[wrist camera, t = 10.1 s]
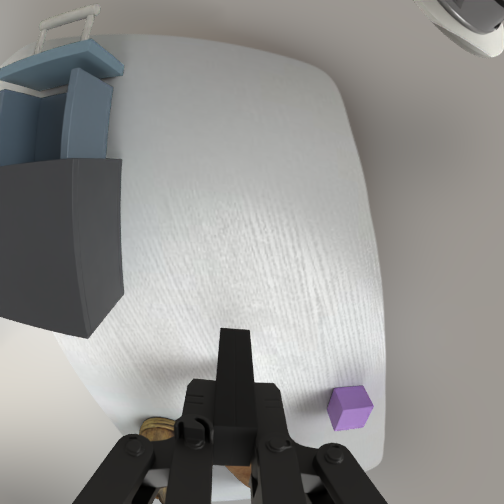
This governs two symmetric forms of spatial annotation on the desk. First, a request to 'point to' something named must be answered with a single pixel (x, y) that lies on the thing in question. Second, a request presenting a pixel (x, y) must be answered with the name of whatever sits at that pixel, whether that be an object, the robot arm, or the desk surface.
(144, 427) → the wooden mug
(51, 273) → the cabinet
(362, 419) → the cube
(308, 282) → the desk surface
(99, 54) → the drawer
